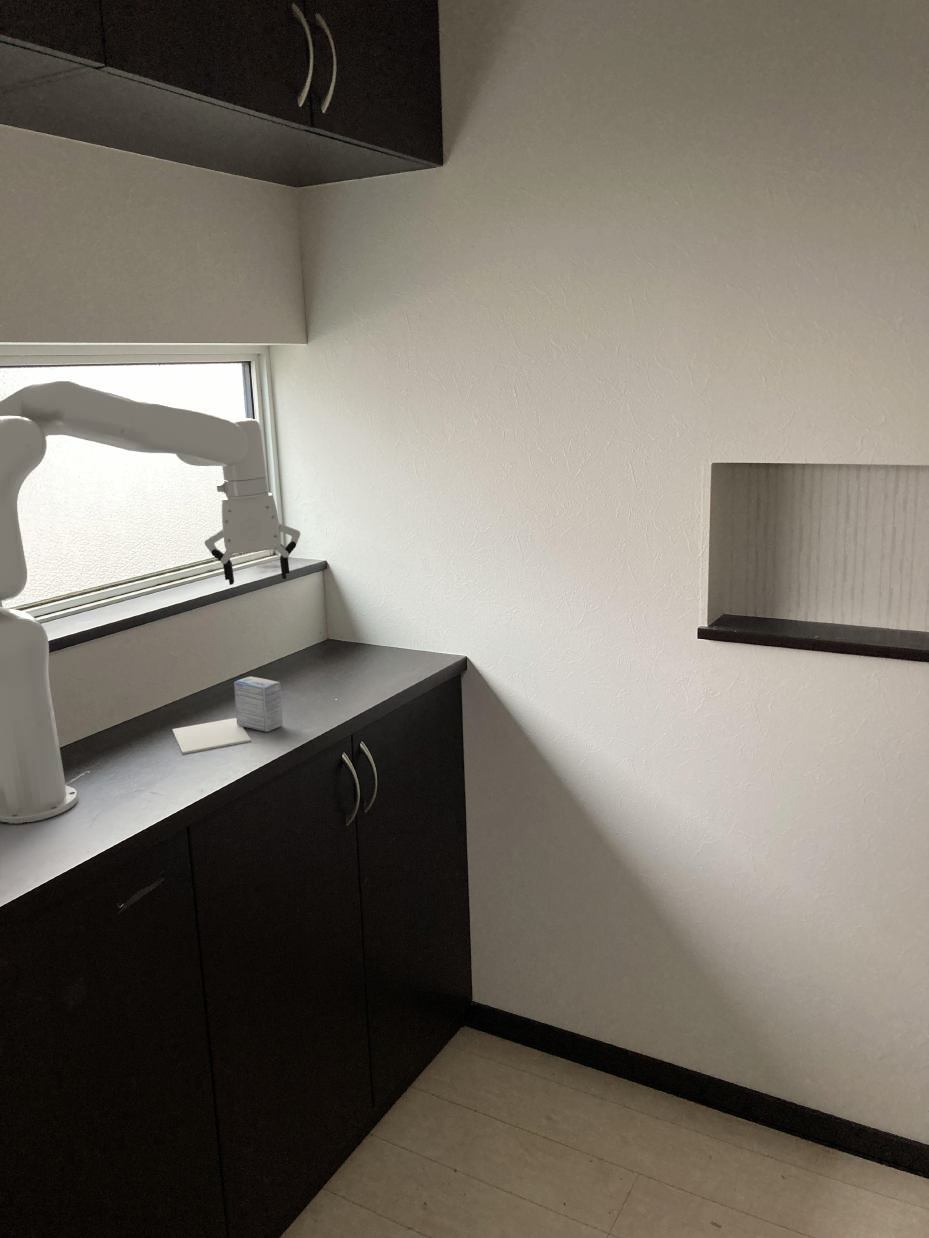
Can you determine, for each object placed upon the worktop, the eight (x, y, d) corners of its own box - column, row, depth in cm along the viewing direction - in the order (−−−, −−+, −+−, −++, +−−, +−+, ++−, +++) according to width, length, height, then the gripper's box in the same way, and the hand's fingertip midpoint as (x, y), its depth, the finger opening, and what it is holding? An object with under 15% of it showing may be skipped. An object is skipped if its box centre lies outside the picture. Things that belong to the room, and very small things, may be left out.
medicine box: (283, 726, 190) (281, 681, 188) (266, 733, 186) (264, 687, 184) (253, 719, 194) (250, 675, 192) (235, 725, 191) (233, 680, 189)
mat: (182, 754, 179) (182, 752, 179) (172, 731, 191) (172, 729, 191) (251, 741, 183) (250, 739, 183) (236, 719, 196) (236, 717, 196)
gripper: (196, 495, 180) (209, 589, 184) (294, 486, 183) (305, 579, 187) (199, 490, 187) (212, 581, 192) (294, 482, 190) (304, 572, 194)
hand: (258, 580), depth 189 cm, fingers open, 9 cm apart
